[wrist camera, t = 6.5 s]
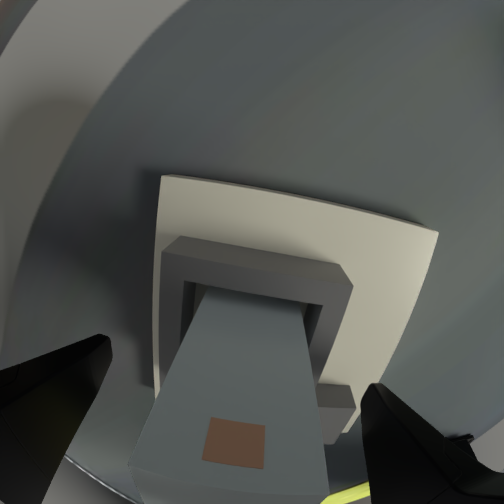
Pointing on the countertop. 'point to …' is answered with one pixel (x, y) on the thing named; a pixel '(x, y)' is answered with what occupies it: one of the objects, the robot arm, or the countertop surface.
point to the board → (291, 277)
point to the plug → (235, 411)
